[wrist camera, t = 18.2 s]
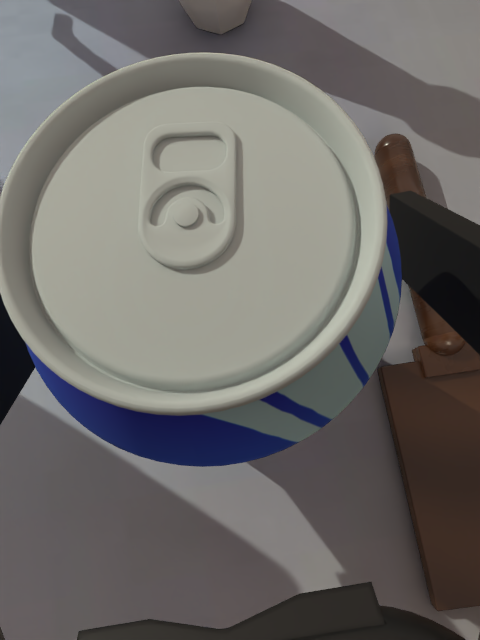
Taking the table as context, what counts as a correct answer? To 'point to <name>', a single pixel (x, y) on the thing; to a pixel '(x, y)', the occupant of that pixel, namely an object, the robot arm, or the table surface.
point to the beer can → (200, 258)
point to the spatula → (436, 427)
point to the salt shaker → (216, 13)
